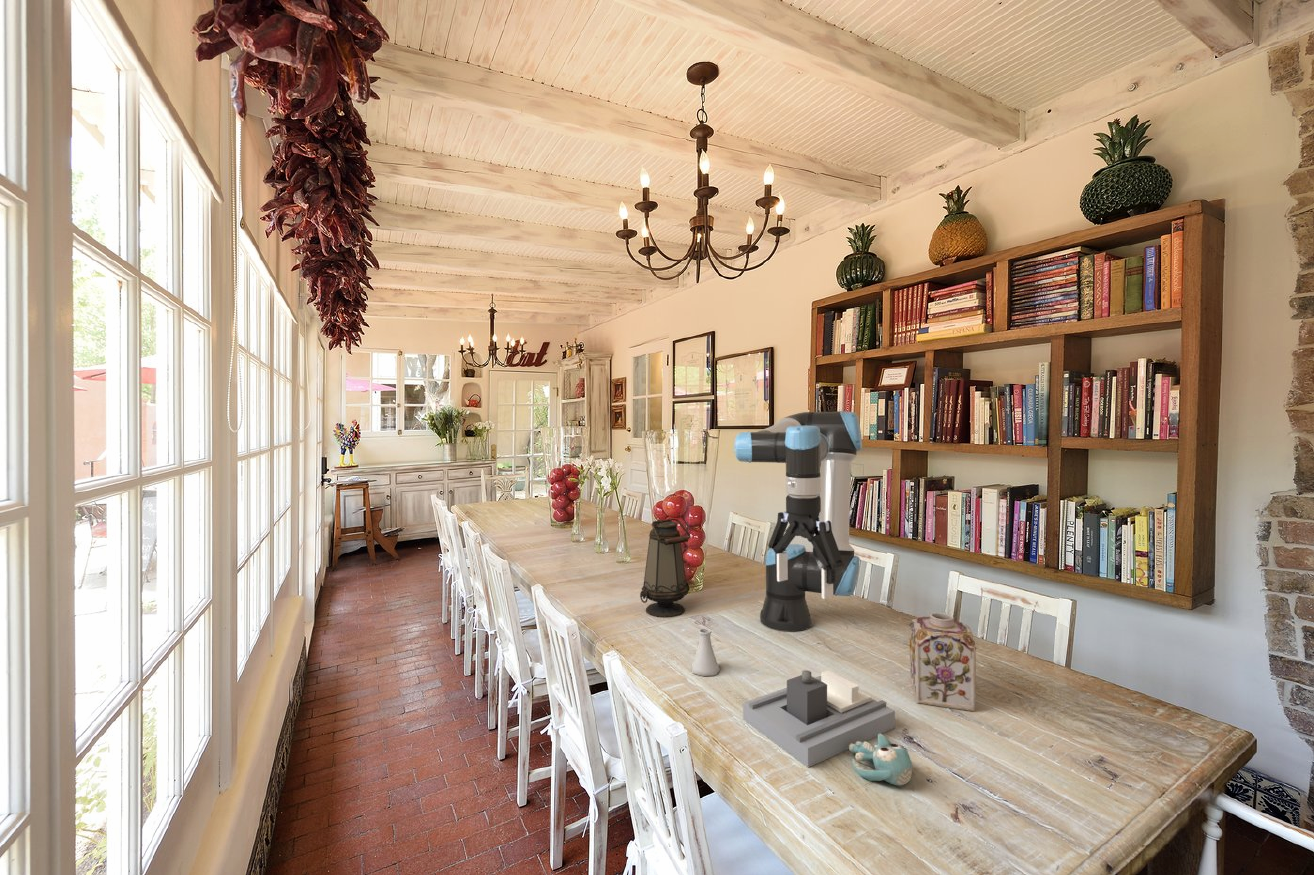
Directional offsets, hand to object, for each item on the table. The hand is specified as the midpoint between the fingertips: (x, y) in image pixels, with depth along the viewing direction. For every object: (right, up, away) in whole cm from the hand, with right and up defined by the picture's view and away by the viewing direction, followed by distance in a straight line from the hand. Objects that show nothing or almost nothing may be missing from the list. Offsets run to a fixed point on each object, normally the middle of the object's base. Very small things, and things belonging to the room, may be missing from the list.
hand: (803, 588), depth 121 cm
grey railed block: (0, -24, -12) cm, 27 cm away
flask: (-21, -24, +12) cm, 34 cm away
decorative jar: (+30, -24, -1) cm, 39 cm away
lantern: (-30, -22, +54) cm, 66 cm away
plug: (-3, -23, -13) cm, 27 cm away
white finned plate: (+5, -20, -9) cm, 23 cm away
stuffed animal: (+6, -25, -27) cm, 37 cm away
